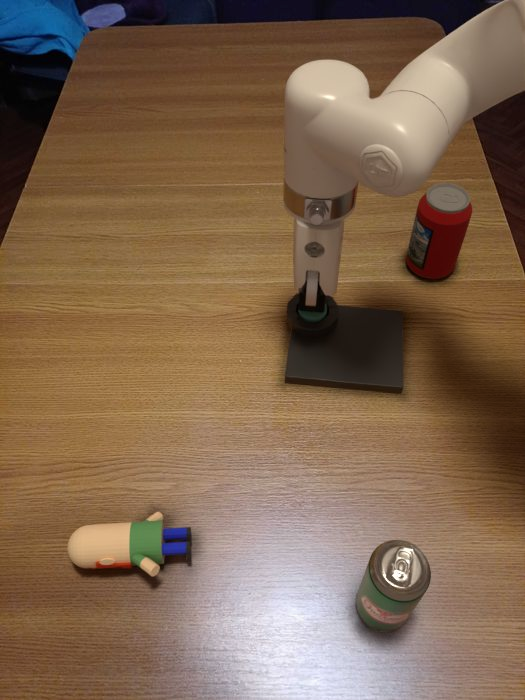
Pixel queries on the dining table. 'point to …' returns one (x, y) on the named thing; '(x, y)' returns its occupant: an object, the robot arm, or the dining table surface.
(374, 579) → the soda can
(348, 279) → the dining table surface
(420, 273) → the beverage can
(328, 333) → the scale
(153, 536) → the toy figurine
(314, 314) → the button
